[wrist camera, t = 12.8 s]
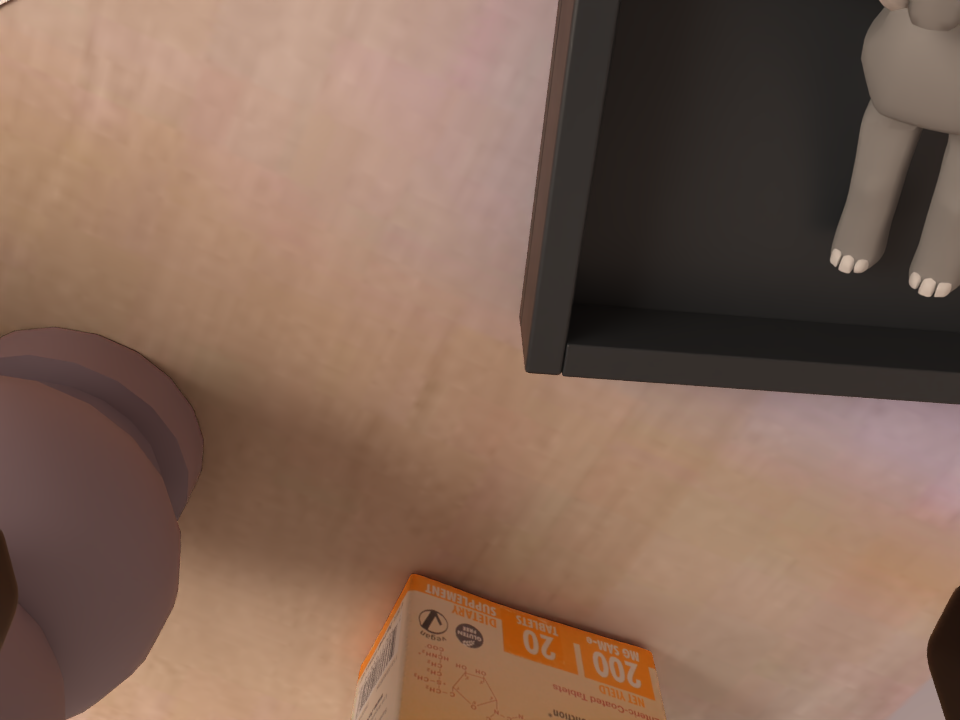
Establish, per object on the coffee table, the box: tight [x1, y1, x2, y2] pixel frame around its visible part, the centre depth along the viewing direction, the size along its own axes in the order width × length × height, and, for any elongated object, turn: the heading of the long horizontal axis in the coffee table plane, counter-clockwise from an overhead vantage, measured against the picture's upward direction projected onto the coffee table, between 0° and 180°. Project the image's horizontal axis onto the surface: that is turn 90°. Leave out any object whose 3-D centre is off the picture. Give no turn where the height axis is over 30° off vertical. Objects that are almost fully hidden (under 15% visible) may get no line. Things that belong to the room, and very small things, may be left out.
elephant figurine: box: [830, 0, 960, 297], centre depth 14 cm, size 10×6×9 cm
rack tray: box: [519, 0, 960, 404], centre depth 16 cm, size 14×15×3 cm
